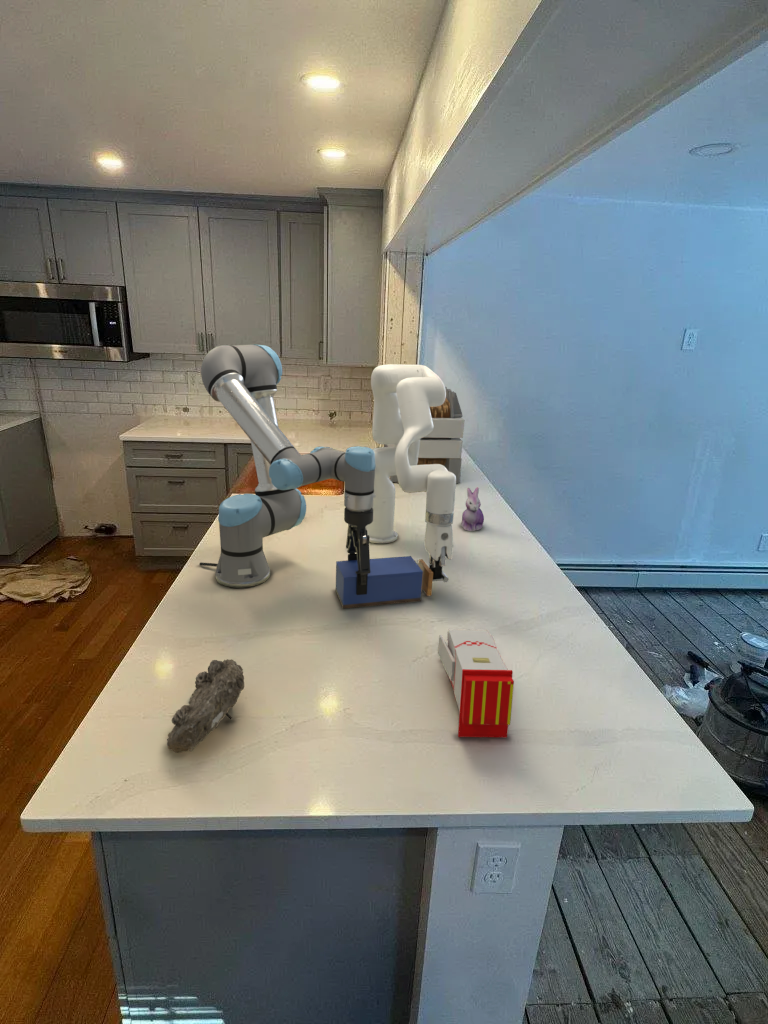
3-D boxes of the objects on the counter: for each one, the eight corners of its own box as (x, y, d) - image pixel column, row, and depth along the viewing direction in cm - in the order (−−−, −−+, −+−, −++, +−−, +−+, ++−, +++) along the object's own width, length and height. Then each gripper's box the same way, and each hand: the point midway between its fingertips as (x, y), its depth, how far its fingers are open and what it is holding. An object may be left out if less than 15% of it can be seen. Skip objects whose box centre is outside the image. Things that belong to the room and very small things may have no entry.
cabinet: (409, 584, 164) (411, 555, 161) (420, 601, 155) (422, 571, 152) (335, 590, 158) (336, 561, 155) (342, 608, 149) (343, 577, 146)
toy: (488, 613, 130) (523, 677, 101) (484, 667, 133) (517, 744, 104) (435, 612, 130) (455, 676, 101) (432, 666, 133) (451, 743, 103)
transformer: (382, 463, 289) (386, 382, 275) (445, 464, 293) (451, 384, 279) (390, 482, 257) (394, 392, 243) (460, 483, 261) (468, 394, 247)
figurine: (469, 533, 203) (473, 493, 198) (453, 523, 211) (457, 485, 206) (490, 530, 207) (495, 490, 202) (474, 520, 215) (478, 482, 210)
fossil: (192, 660, 117) (244, 628, 112) (224, 691, 120) (276, 661, 115) (142, 746, 98) (202, 712, 93) (182, 779, 101) (242, 748, 96)
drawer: (438, 579, 165) (440, 557, 163) (449, 594, 157) (452, 571, 155) (352, 587, 158) (352, 564, 156) (359, 602, 150) (360, 578, 148)
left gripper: (385, 522, 137) (381, 603, 144) (362, 493, 157) (360, 565, 165) (354, 524, 135) (352, 606, 142) (336, 494, 155) (335, 567, 163)
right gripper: (463, 525, 147) (457, 589, 153) (442, 507, 161) (438, 566, 166) (435, 527, 145) (431, 591, 151) (417, 508, 159) (413, 568, 164)
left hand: (356, 584), depth 153 cm, fingers closed on cabinet, 10 cm apart
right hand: (435, 578), depth 159 cm, fingers closed
